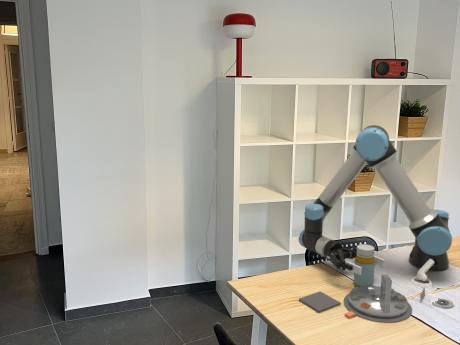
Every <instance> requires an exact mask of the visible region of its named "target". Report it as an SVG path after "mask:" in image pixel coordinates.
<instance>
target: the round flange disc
mask: <svg viewBox="0 0 460 345" xmlns="http://www.w3.org/2000/svg"><path fill="white" fill-rule="evenodd" d="M392 284H393V280H392V279H391V277H390V276H389V275H388V274H381V280H380V286H377V285H374V284H373V285H367V286H361V287H357V286H354V287H352V289H351V290H350V291H349V292H348V294H349V297H348V302H349V304H350V306H351V307H352V308H353V309H354V310H356V311H358V312H359V313H362V314H364V315H367V316H370V317H375V318H383V319H390V318H397V317H400V316H403V315H404V314H405V313H406V312H407V308H408V303H409V302H408V299H407V297H406V296H405V295H404V294H402V293H400V292H398V291H396V290H395V288H393V287H392V286H393V285H392Z"/></svg>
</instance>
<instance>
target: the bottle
mask: <svg viewBox="0 0 460 345" xmlns="http://www.w3.org/2000/svg"><path fill="white" fill-rule="evenodd" d="M356 248H357V255H356V257H355V258H354V264H355V265H357V266H360V267H362V272H361V275H359V274H357V273H354V272H353V284H354V286H355V287H361V286H367V285H374V283H375V282H374V280H375V265H376V264H375V259H374V256H375V247H374V246H373V245H371V244H366V243H365V244H364V243H362V244H358V245H357V246H356Z"/></svg>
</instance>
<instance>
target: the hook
mask: <svg viewBox="0 0 460 345" xmlns="http://www.w3.org/2000/svg"><path fill="white" fill-rule="evenodd" d="M433 264H434V261H433V260H432V259H429V260H428V261H427V262H426V263H425V264H424V265H423V267H422V268H419V270H418V271H417V272H416V276H414V277H412V278H411V280H410V281H411V283H412V284H413V285H414V287H415V286H417V287H416V288H418V287H421V288H420V289H422V288H428V289H430V288H429V287H431V288H432V287H433V286H432V285H433V283H432V280H431V279H429V278H428V276H427V274H426V273H427V272H428V271H430V270H429V269H430V267H431V266H432V265H433ZM418 281H422V282H426V281H428V282H429V283H428V282H426V283H422V282H418ZM411 283H410V284H411ZM412 284H411V285H412ZM413 285H412V286H413Z"/></svg>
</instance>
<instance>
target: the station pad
mask: <svg viewBox="0 0 460 345" xmlns="http://www.w3.org/2000/svg"><path fill="white" fill-rule="evenodd" d="M298 301H299V302H300V303H301V304H303V305H306V306H307V307H309V309H312V310H313V311H315V312H317V313H318V314H320V313H322V312H326V311H329V310H331V309H333V308H336V307H339V306H341V305H342V302H340V301H339V300H337V299H335V298H334V297H332V296H329V295H328V294H326V293H325V292H323V291H320V290H319V291H316V292H313V293H312V294H309V295H306V296H302V297H300V298H299V299H298Z"/></svg>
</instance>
